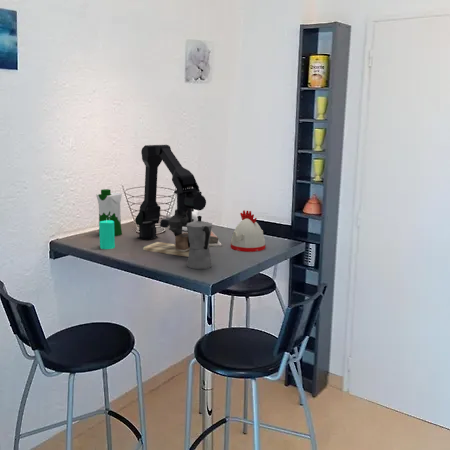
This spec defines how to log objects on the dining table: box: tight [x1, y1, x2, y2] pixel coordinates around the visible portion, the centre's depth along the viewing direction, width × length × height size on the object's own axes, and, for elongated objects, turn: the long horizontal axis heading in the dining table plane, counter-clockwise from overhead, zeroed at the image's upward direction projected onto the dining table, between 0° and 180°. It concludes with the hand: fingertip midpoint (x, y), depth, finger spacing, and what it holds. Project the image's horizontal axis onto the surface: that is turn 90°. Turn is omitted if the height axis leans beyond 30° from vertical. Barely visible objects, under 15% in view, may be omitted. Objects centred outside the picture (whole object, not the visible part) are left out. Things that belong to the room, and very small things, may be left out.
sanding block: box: [174, 232, 190, 252], centre depth 214 cm, size 4×7×6 cm, turn 154°
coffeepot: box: [186, 215, 213, 270], centre depth 195 cm, size 15×9×18 cm, turn 22°
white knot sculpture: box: [182, 209, 200, 232], centre depth 254 cm, size 11×12×9 cm
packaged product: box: [209, 229, 223, 248], centre depth 232 cm, size 18×5×10 cm
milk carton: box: [96, 188, 123, 237], centre depth 240 cm, size 9×9×20 cm
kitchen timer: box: [230, 209, 266, 253], centre depth 222 cm, size 14×14×15 cm
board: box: [143, 241, 190, 257], centre depth 217 cm, size 20×10×1 cm, turn 64°
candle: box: [98, 218, 116, 250], centre depth 219 cm, size 6×6×12 cm
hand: (184, 246), depth 214 cm, fingers closed on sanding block, 4 cm apart
